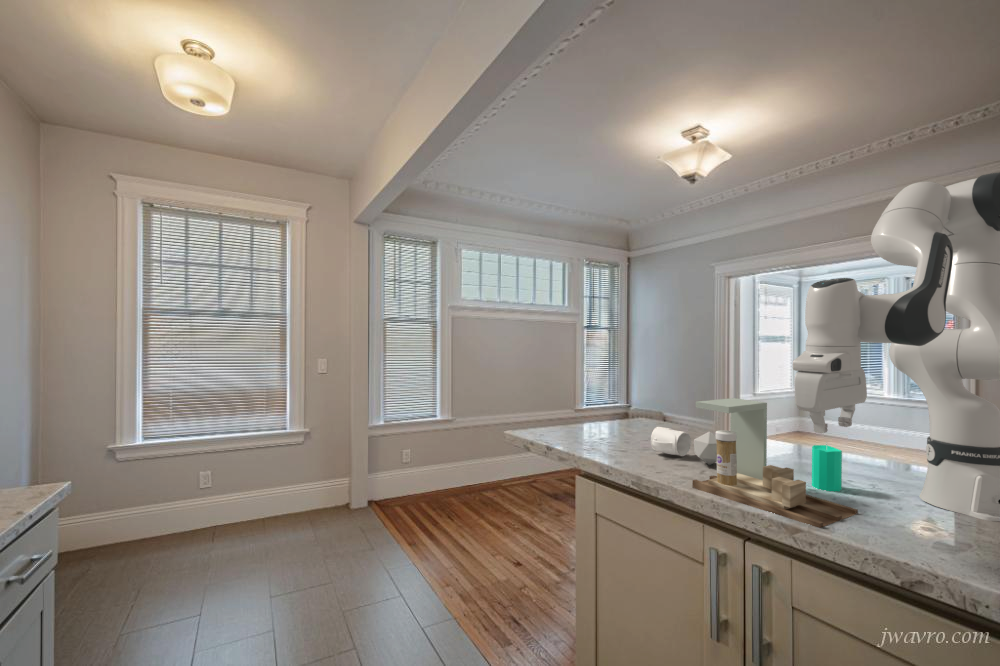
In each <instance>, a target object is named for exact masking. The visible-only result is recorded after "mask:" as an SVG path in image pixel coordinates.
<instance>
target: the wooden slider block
mask: <svg viewBox="0 0 1000 666" xmlns="http://www.w3.org/2000/svg"><path fill="white" fill-rule="evenodd" d="M794 473H795V471H794V468H791V467H779V466H776V465H771V464H768V465H766V466H763V480H760V479H756V478H753V477H750V476H746V475H743V474H739V473H737V483H740V484H744V485H747V486H750V487H753V488H756V489H760V490H763V491H766V492H769V493H772V479H773V478H777V477H783V478H786V479H790V480H793V481H795V479H794V478H795V476H794V475H795V474H794Z"/></svg>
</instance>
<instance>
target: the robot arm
mask: <svg viewBox="0 0 1000 666" xmlns="http://www.w3.org/2000/svg"><path fill="white" fill-rule="evenodd" d="M870 244H871V248H872V249H873V251H874V252H875V254H876V255H877V256H878V257H880V258H881V259H883V260H885V261H886V262H888V263H891V264H893V265H897V266H902V267H904V266H905V267H913V268H916V269H915V273H914V274H915V275H914V279H913V283H912V287H911V288H909V289H907V290H905V291H901V292H896V293H883V294H866V295H865V293H863V292H860V291H859V290H858V285H857V281H856V279H854V278H850V277H839V278H838V277H837V278H831V279H824V280H820V281H817V282H814V283H812V284H811V285H810V286H809V288H808V291H807V295H806V300H805V310H804V311H805V312H804V313H805V314H804V317H805V318H804V321H805V327H806V330H807V338H806V341H805V351H803V352H801V354H799V356H797V357H795V358H794V359H793V361H792V370H793V371H797V372H796V373H795V374H794V383H793V384H794V400H795V405H796V407H797V409H798V410H799V411H804V412H809V417H810V419H811V422H812V424H813V432H814V433H818V434H825V433H828V425H829V424H828V423H826V421H825V416H826V411H828V410H829V411H830V410H833V409H834V410H835V409H839V408H840V414H839V415H840V416H838V417H837V420H838V423H837V424H838V426H839V427H842V428H843V427H844V428H850V427H852V425H853V417H854V414H855V411H856V405H857V404H858V405H859V404H863V403H865V402H866V400H867V397H868V390H867V379H866V373H865V369H864V368H863V367H862V349H861V348H862V346H861V345H862V343H870V344H873V343H875V344H890V345H889V348H888V354H889V355H888V356H889V359H890V361H891V363H892V365H893V366H894V367H895V368H896V369H897V370H898V371H900V372H901V373H903V374H905V375H906V376H907V377H908V378H910V379H911V380H912V381H913V382H914V383H915V384H916V386H917V387H919V389H920V391H921V393H922V394H923V396H924V398H925V400H926V404H927V410H928V419H929V436H928V437H927V438H926V439H927V440H926V447H925V449H926V450H925V453H926V454H925V455H926V461H927V462H928V464H927V469H926V475H925V480H924V482H923V483H924V484H923V486H922V490H921V492H920V494H919V499H920V500H922V501H923V502H925V503H928V504H929V505H932V506H935V507H937V508H941V509H943V510H947V511H951V512H954V513H958V514H963V515H966V516H969V517H972V518H976V519H979V520H983V521H990V522H1000V409H999V407H998V406H997V405H996V404H995V403H993V402H992V401H990V400H987V398H984V397H982V396H979V395H977V394H974V393H972V392H970V391H969V390H968V389H967V388H966V387H965V385H964V383H963V380H965V379H967V380H979V381H980V380H981V381H993V382H994V381H997V382H998V381H999V382H1000V171H999V172H991V173H986V174H982V175H979V176H978V177H976V178H971V179H968V180H963V181H960V182H956V183H952V184H949V185H946V186H944V185H943V184H940V183H938V182H934V181H919V182H918V181H917V182H915V183H911V184H908V186H905V187H903V189H901V190H900V191H899V192H898V193H897V194H896V195H895V196H894V198H893V199H892V200H891V201H890V202H889V204H888V205H887V206H886V207H885V209H884V210H883V211H882V212H881V215H880V217H879V219H878V220H877V222H876V223H875V225H874V227H873V229H872V232H871V236H870ZM947 313H949V314H951V315H954V316H955V317H959V318H963V319H966V320H968V321H970V326H969V327H967V328H945V327H946V321H947V320H946V319H947Z"/></svg>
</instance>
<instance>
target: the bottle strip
mask: <svg viewBox="0 0 1000 666" xmlns="http://www.w3.org/2000/svg"><path fill="white" fill-rule="evenodd" d="M707 480H708V484H711V485H714V486H717V487H719V488H722V489H725V490H728V491H731V492H734V493H737V494H740V495H743V496H746V497H749V498H752V499H755V500H758V501H761V502H764V503H767V504H770V505H773V506H776V507H779V508H782V509H785V510H786V509H789V508H793V507H796V506H797V505H800V504H804V503H806V494H807V482H806V481H804V480H800V479H794V481H793V480H790V479H786V478H783V477H777V478H773V479H772V493H769V492H766V491H763V490H760V489H756V488H753V487H750V486H747V485H744V484H740V483H737V485H733V486H730V485H724V484H720V483H718V482H717V478H715V479H710V478H709V479H707Z"/></svg>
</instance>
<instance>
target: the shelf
mask: <svg viewBox="0 0 1000 666" xmlns="http://www.w3.org/2000/svg"><path fill="white" fill-rule="evenodd" d="M695 408H696V409H702V410H707V411H712V412H713V411H714V412H719V413H723V414H724V413H725V414H730V415H729V416H730V425H729V427H730V428H729V429H730V430H729V431H733V432H735V433H736V436H737V440H736V455H737V473H739V474H743V475H746V476H750V477H753V478H756V479H760V480H763V466H767V459H768V458H767V448H768V447H767V443H768V442H767V441H768V440H767V439H768V437H767V434H768V431H767V429H768V402H765V401H758V400H757V401H756V400H752V399H744V398H743V399H742V398H737V397H731V398H719V399H718V398H717V399H710V400H708V399H707V400H701V401H695Z"/></svg>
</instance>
